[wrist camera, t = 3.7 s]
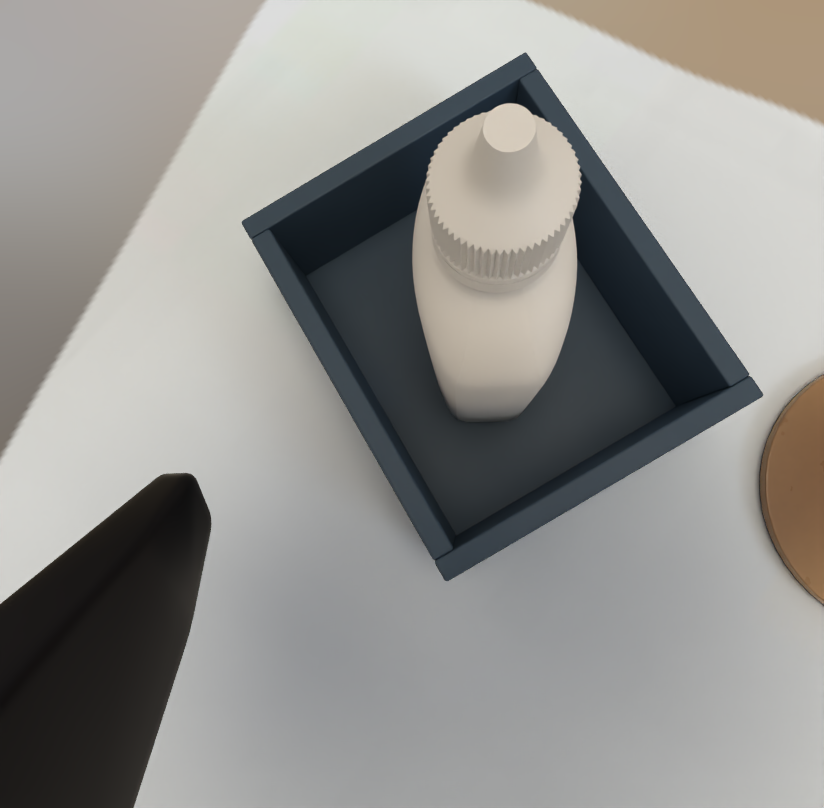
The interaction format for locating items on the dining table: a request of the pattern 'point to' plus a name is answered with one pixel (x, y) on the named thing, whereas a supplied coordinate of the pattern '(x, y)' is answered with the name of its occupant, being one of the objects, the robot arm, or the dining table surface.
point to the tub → (573, 371)
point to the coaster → (797, 487)
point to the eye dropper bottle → (496, 260)
